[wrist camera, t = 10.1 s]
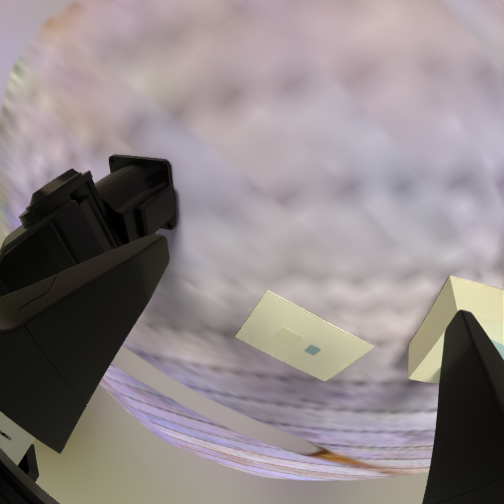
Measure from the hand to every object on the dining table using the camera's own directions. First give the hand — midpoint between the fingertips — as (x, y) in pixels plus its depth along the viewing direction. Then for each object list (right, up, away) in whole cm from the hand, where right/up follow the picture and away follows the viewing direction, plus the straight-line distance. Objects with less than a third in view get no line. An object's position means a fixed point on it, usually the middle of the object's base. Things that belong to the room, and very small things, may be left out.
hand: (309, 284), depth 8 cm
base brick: (+18, -6, +14) cm, 23 cm away
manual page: (+3, -8, +22) cm, 24 cm away
